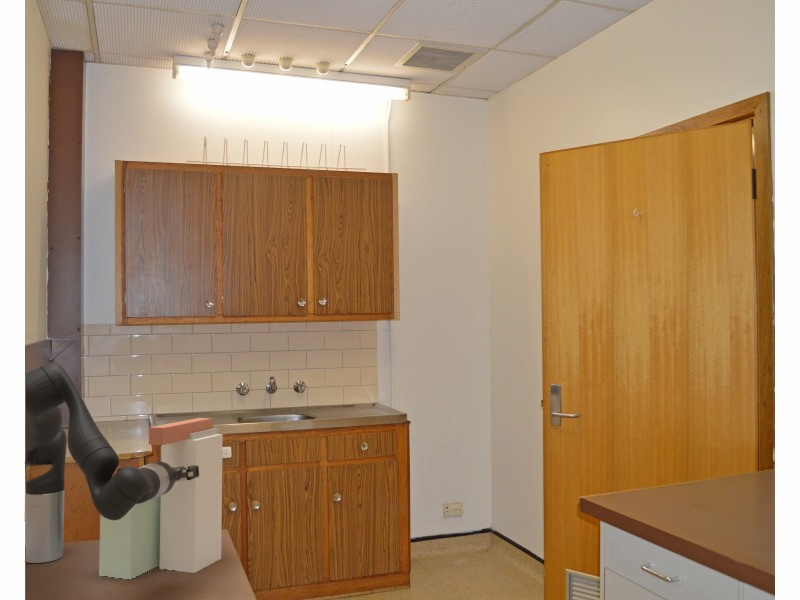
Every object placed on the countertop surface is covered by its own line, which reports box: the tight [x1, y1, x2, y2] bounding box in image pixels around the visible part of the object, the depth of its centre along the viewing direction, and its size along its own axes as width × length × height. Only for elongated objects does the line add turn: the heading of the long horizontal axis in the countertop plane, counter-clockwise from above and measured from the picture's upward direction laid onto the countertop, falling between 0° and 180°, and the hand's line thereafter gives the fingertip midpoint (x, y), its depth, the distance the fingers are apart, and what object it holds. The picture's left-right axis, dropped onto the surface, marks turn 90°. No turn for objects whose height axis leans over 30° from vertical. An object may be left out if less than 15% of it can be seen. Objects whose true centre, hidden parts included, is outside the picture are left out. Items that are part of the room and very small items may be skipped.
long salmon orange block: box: [148, 417, 214, 446], centre depth 182 cm, size 4×21×4 cm, turn 162°
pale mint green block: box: [98, 496, 161, 581], centre depth 183 cm, size 10×20×20 cm, turn 162°
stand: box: [158, 427, 224, 574], centre depth 185 cm, size 10×12×34 cm
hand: (175, 471), depth 176 cm, fingers open, 8 cm apart
